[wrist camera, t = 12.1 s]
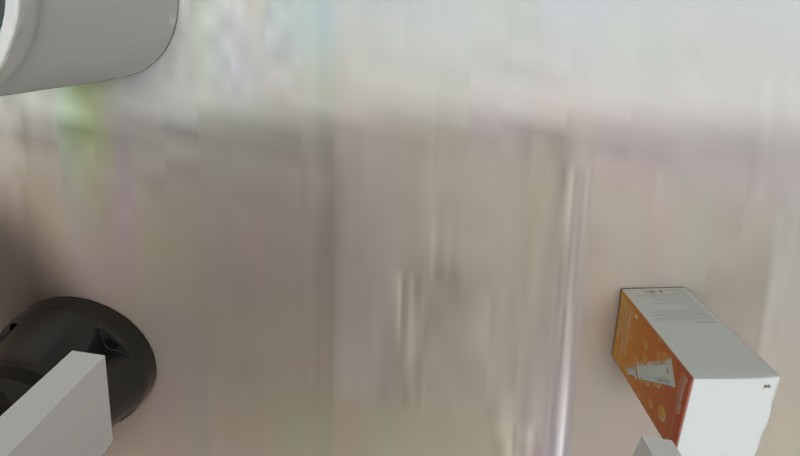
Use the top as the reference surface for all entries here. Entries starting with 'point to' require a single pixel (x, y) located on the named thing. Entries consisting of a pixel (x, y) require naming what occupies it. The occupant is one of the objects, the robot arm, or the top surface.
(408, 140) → the top surface
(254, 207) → the top surface
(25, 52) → the utensil holder
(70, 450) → the robot arm
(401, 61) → the top surface
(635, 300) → the small box
